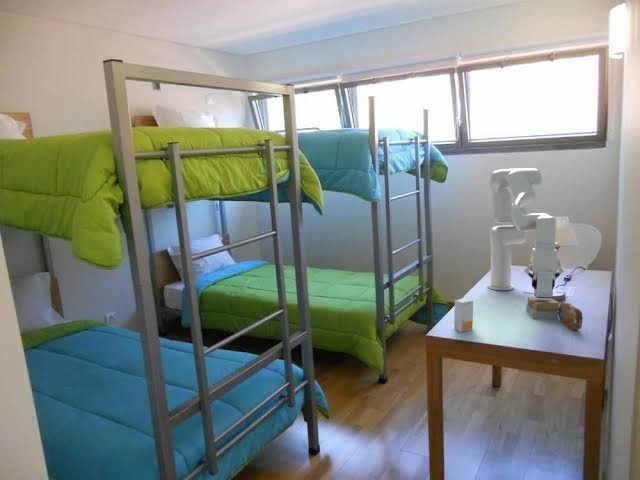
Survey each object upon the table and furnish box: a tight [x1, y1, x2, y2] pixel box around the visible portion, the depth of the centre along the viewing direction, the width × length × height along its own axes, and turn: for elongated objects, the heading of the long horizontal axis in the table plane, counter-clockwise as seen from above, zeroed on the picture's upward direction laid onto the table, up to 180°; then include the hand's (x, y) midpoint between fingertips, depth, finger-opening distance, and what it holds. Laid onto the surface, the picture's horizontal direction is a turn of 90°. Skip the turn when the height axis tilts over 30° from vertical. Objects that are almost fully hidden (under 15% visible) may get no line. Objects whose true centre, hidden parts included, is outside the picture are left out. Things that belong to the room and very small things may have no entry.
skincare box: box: [453, 297, 474, 333], centre depth 190 cm, size 6×4×12 cm
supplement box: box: [533, 271, 553, 298], centre depth 200 cm, size 6×6×12 cm
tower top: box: [527, 296, 560, 312], centre depth 203 cm, size 9×9×4 cm
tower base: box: [525, 303, 559, 320], centre depth 203 cm, size 10×10×4 cm
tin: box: [558, 302, 583, 331], centre depth 189 cm, size 15×3×8 cm, turn 178°
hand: (542, 288), depth 201 cm, fingers closed on supplement box, 5 cm apart
